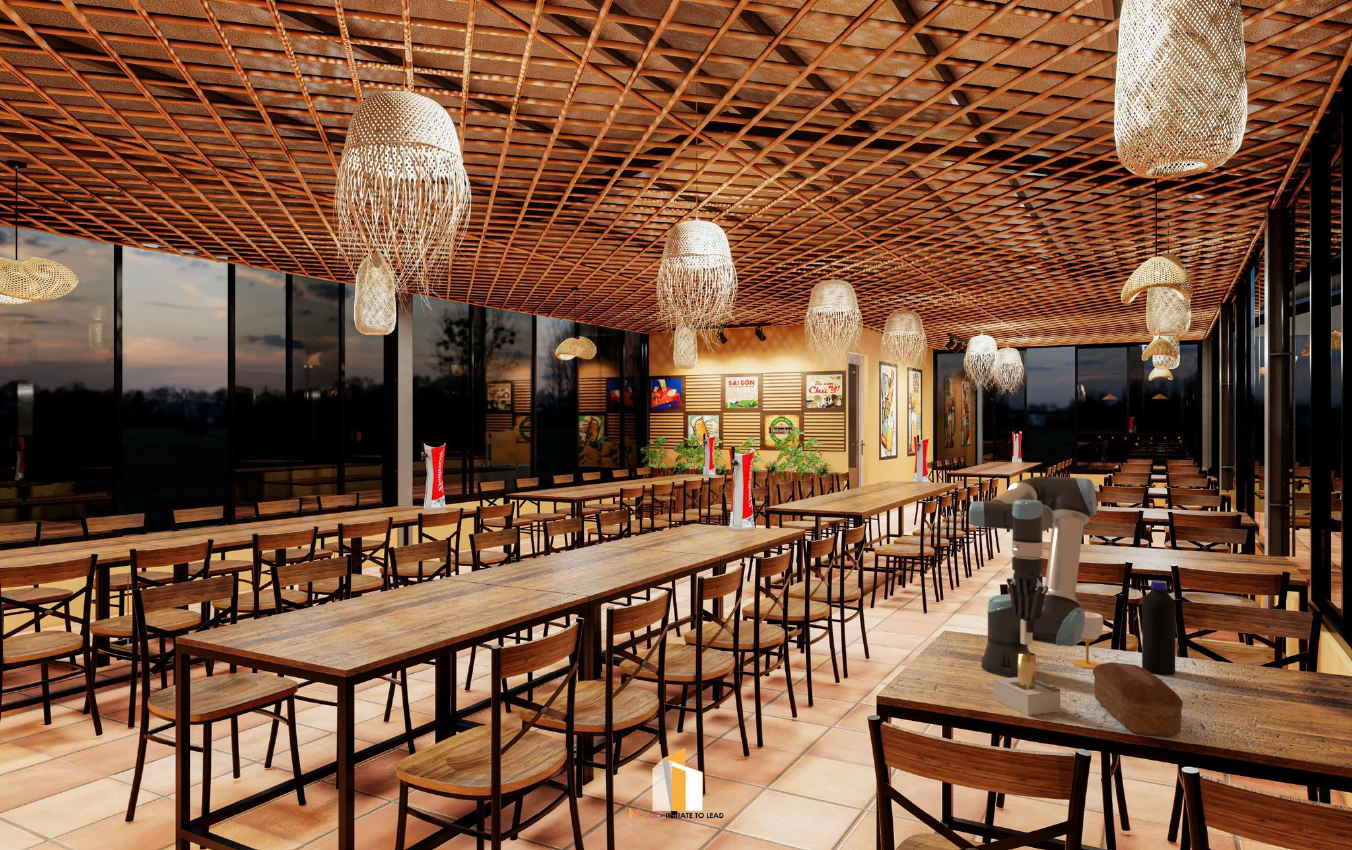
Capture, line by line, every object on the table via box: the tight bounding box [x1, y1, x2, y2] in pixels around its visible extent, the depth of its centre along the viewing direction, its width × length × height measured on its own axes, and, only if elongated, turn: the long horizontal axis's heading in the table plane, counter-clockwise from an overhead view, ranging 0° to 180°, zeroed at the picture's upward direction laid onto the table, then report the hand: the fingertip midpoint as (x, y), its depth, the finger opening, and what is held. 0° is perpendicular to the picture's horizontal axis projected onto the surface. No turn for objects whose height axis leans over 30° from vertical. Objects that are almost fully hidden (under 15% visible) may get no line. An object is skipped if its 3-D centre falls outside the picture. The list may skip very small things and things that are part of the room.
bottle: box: [1141, 580, 1177, 676], centre depth 242 cm, size 9×9×28 cm
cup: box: [1070, 611, 1104, 670], centre depth 248 cm, size 9×9×16 cm
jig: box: [992, 677, 1061, 716], centre depth 210 cm, size 11×13×6 cm
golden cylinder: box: [1018, 651, 1037, 690], centre depth 210 cm, size 4×4×14 cm
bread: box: [1092, 661, 1184, 737], centre depth 202 cm, size 14×28×12 cm, turn 171°
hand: (1026, 643), depth 210 cm, fingers closed
